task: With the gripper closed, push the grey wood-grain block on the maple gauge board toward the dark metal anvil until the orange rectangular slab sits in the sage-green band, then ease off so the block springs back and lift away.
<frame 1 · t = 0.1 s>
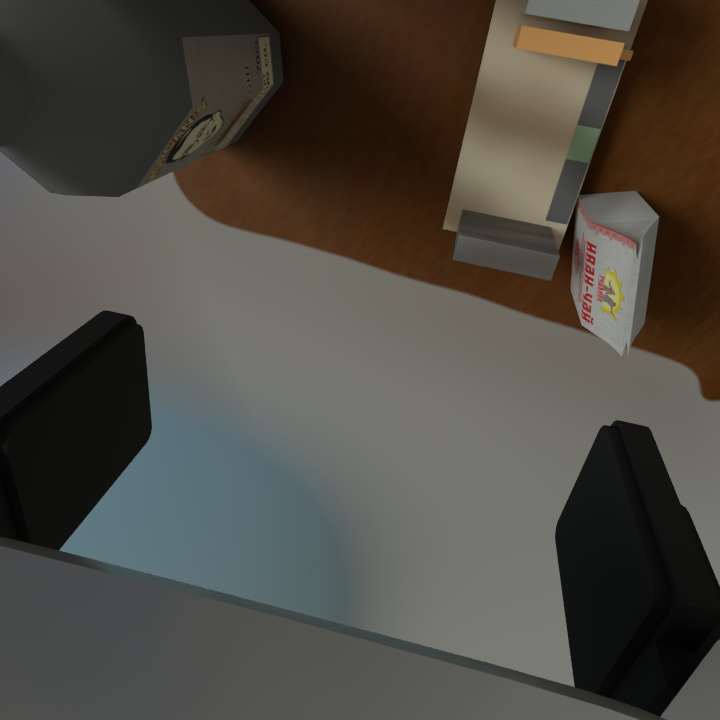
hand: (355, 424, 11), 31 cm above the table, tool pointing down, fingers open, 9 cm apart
orange rectangular slab: (577, 46, 30), point 4 cm above the table, slide at 0.0 cm
gauge board: (534, 113, 36), on the table
liquor: (214, 57, 38), on the table
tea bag: (600, 241, 39), on the table
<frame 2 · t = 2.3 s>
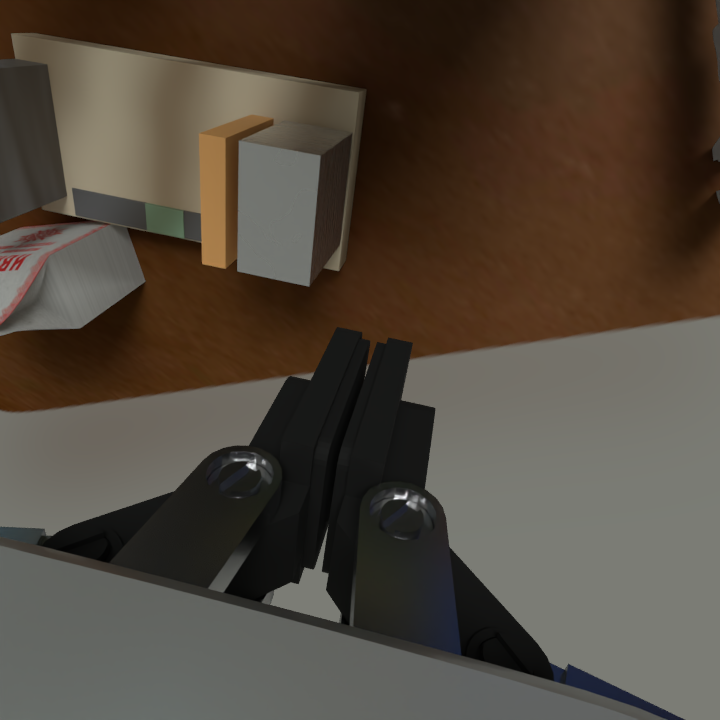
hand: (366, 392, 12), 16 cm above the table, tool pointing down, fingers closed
orange rectangular slab: (238, 206, 24), point 4 cm above the table, slide at 0.0 cm
gauge board: (197, 151, 27), on the table
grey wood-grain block: (296, 200, 23), point 4 cm above the table, slide at 0.0 cm
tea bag: (85, 253, 32), on the table
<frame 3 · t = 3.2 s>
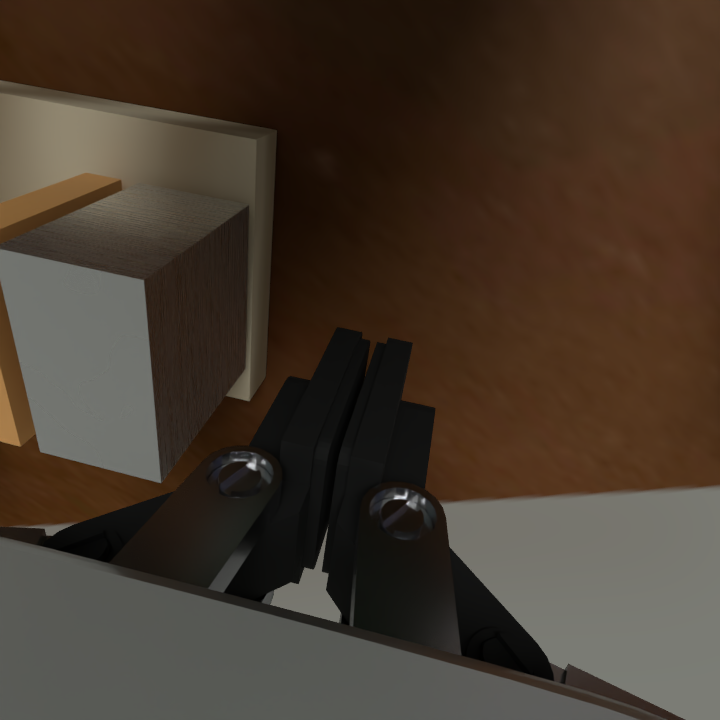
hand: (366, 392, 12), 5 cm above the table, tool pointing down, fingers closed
orange rectangular slab: (60, 327, 14), point 4 cm above the table, slide at 0.0 cm
gauge board: (32, 218, 18), on the table
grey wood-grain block: (149, 322, 14), point 4 cm above the table, slide at 0.0 cm
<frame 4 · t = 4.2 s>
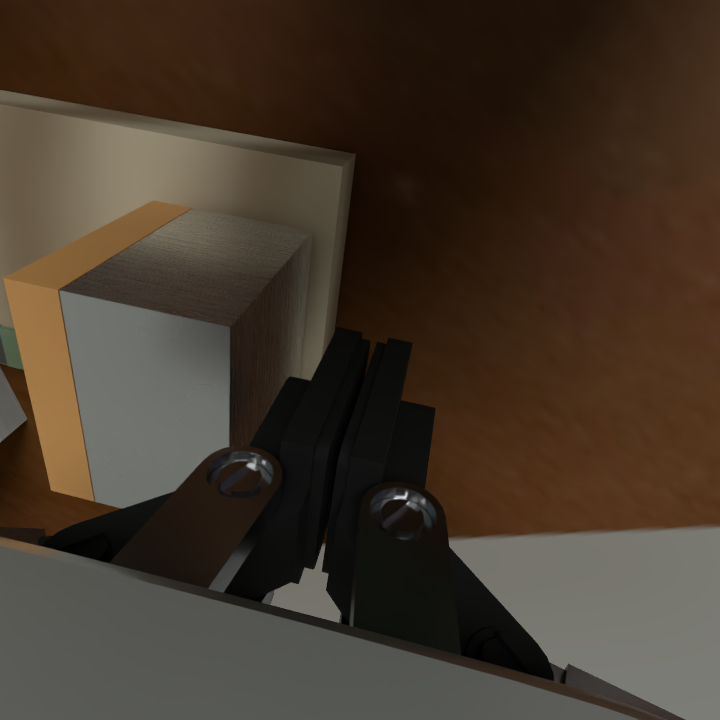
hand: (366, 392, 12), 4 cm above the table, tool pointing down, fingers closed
orange rectangular slab: (128, 368, 13), point 4 cm above the table, slide at 0.0 cm
gauge board: (81, 244, 17), on the table
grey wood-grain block: (209, 359, 13), point 4 cm above the table, slide at 0.5 cm, touching gripper
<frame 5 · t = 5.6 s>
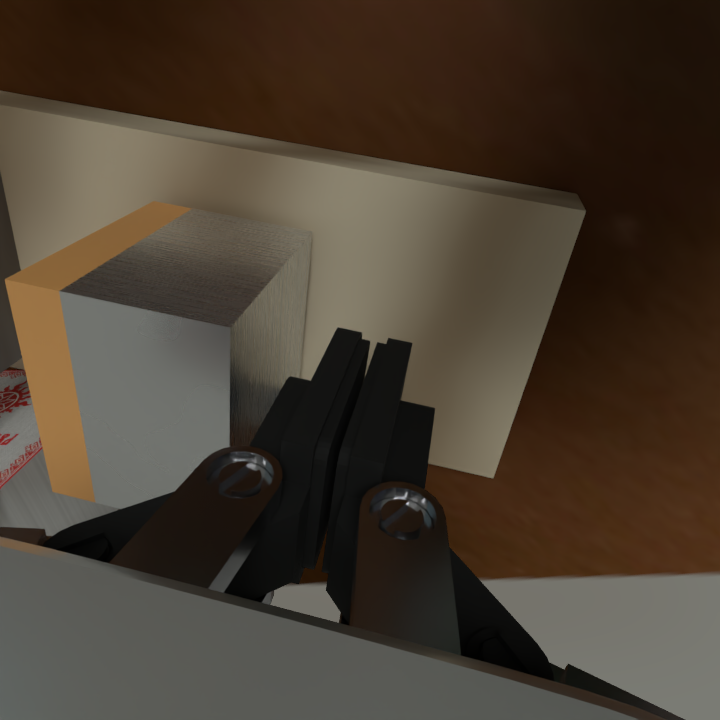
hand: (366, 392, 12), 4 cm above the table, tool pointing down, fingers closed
orange rectangular slab: (129, 369, 13), point 4 cm above the table, slide at 5.4 cm, touching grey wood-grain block
gauge board: (254, 280, 16), on the table
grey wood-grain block: (209, 360, 13), point 4 cm above the table, slide at 5.9 cm, touching gripper, orange rectangular slab
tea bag: (68, 408, 21), on the table
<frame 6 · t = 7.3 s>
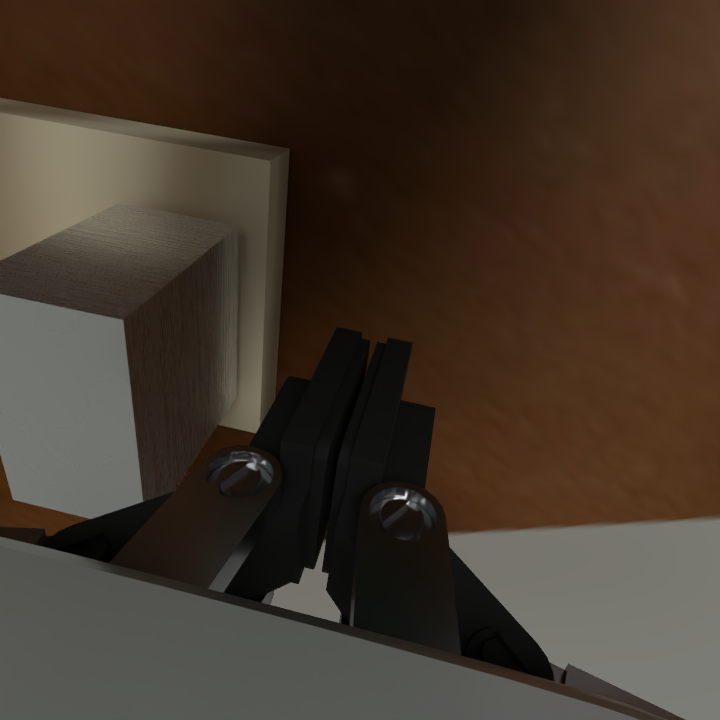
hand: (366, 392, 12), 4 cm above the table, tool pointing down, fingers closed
gauge board: (23, 242, 17), on the table
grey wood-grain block: (131, 355, 13), point 4 cm above the table, slide at 0.6 cm
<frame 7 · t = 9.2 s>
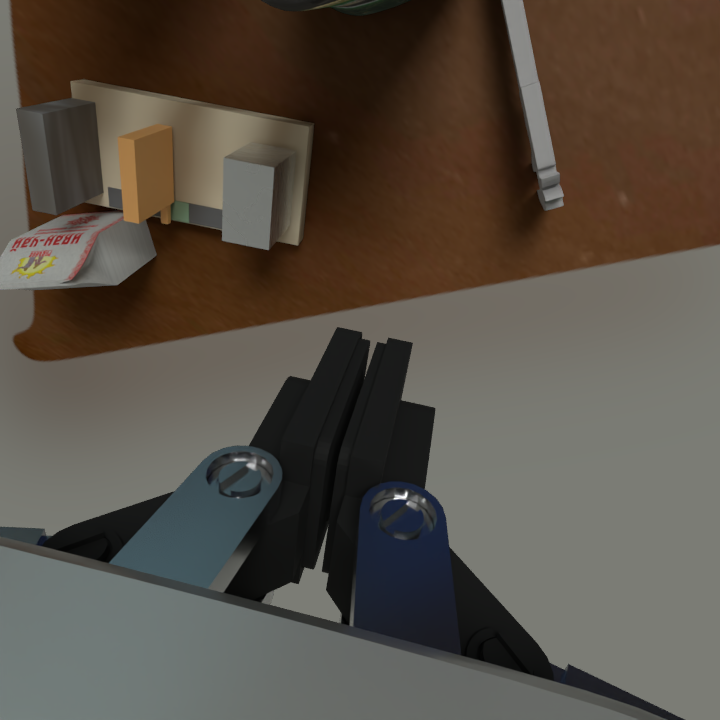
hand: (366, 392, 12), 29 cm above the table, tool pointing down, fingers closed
orange rectangular slab: (149, 184, 36), point 4 cm above the table, slide at 5.5 cm
gauge board: (197, 162, 40), on the table
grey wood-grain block: (259, 194, 35), point 4 cm above the table, slide at 0.6 cm
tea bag: (111, 234, 44), on the table
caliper: (513, 25, 33), on the table
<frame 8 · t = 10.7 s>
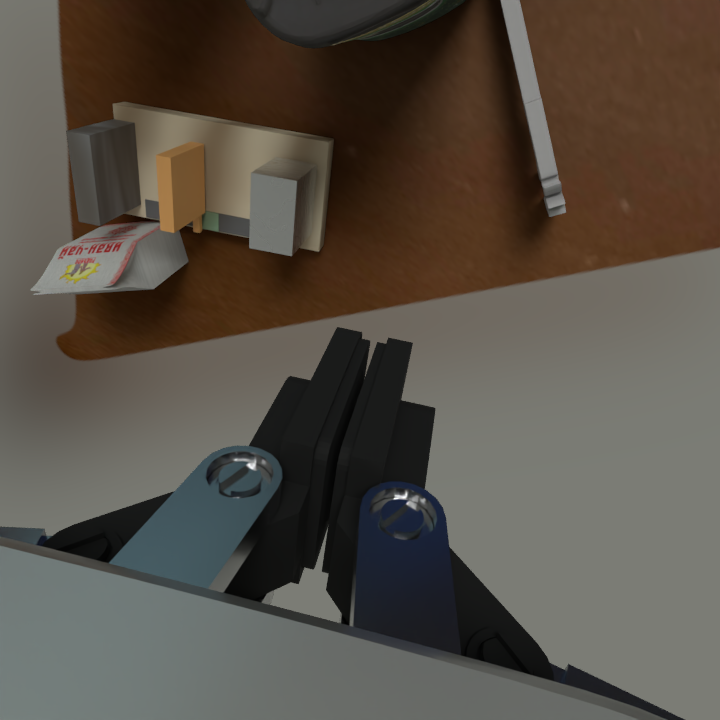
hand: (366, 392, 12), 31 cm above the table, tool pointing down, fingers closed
orange rectangular slab: (183, 196, 40), point 4 cm above the table, slide at 5.5 cm
gauge board: (226, 175, 43), on the table
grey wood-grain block: (283, 205, 39), point 4 cm above the table, slide at 0.6 cm
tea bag: (147, 242, 47), on the table
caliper: (518, 45, 35), on the table
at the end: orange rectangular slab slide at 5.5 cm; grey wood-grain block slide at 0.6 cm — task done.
